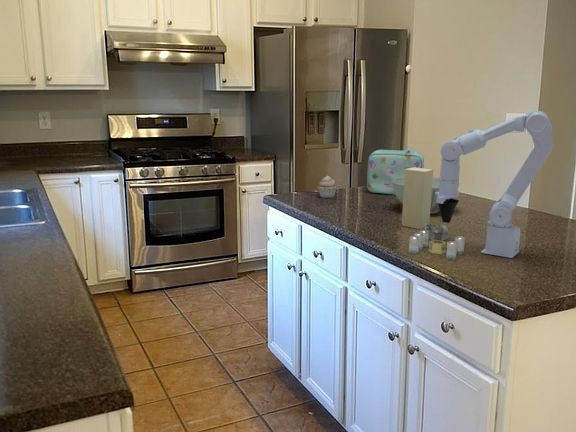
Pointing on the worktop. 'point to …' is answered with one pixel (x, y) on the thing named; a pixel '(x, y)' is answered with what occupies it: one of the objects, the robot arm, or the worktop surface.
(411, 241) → the cylinder
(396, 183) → the decorative bowl
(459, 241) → the cylinder
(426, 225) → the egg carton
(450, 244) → the cylinder
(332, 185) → the cupcake
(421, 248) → the cylinder
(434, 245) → the nut
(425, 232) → the cylinder
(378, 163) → the lunch box
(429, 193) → the beige rectangular block
